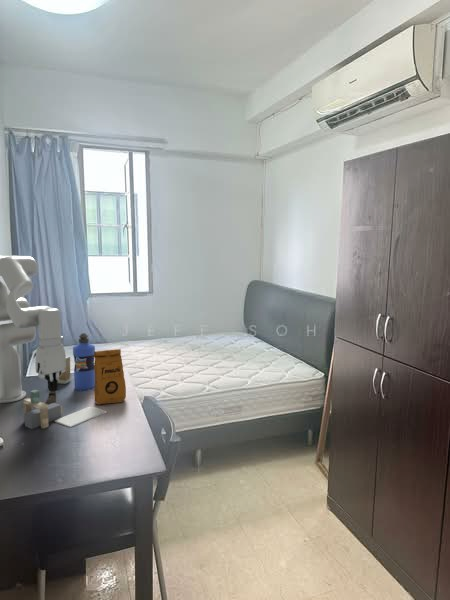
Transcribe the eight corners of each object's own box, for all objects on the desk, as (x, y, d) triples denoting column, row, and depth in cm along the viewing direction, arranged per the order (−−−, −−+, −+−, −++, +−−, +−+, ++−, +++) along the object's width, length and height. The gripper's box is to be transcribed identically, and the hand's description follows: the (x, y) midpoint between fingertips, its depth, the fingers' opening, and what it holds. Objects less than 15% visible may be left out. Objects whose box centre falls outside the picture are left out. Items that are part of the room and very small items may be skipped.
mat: (54, 421, 148) (54, 420, 148) (90, 407, 162) (90, 406, 162) (70, 427, 143) (70, 426, 143) (105, 412, 157) (105, 411, 157)
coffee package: (127, 403, 166) (126, 351, 163) (95, 407, 162) (93, 354, 159) (124, 395, 175) (123, 345, 172) (93, 399, 171) (92, 348, 168)
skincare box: (53, 383, 190) (52, 357, 188) (58, 380, 194) (57, 355, 192) (66, 384, 189) (65, 358, 187) (71, 381, 193) (70, 356, 191)
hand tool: (52, 415, 154) (52, 404, 154) (41, 416, 153) (40, 404, 153) (61, 398, 172) (60, 387, 172) (51, 398, 172) (50, 388, 171)
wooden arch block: (24, 420, 148) (22, 388, 147) (29, 418, 150) (27, 387, 148) (43, 428, 142) (41, 395, 140) (48, 426, 144) (47, 393, 142)
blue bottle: (80, 383, 189) (78, 331, 186) (99, 384, 188) (98, 332, 185) (70, 390, 180) (68, 335, 177) (90, 391, 179) (88, 336, 176)
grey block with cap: (24, 426, 144) (24, 413, 144) (57, 414, 155) (56, 401, 155) (31, 429, 142) (31, 415, 142) (63, 416, 153) (63, 403, 153)
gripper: (61, 337, 156) (64, 383, 158) (25, 344, 144) (28, 394, 146) (74, 339, 152) (76, 386, 154) (37, 347, 140) (40, 398, 142)
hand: (53, 390), depth 150 cm, fingers closed
